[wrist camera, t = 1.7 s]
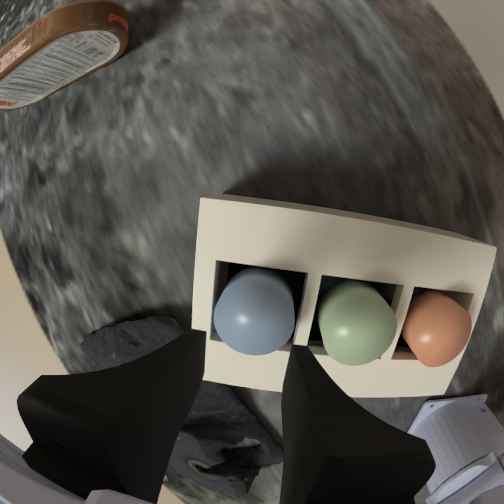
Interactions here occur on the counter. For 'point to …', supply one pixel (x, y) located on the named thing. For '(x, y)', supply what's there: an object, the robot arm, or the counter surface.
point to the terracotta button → (436, 328)
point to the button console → (332, 264)
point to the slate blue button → (255, 312)
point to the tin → (61, 50)
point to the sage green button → (355, 323)
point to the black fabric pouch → (194, 412)
